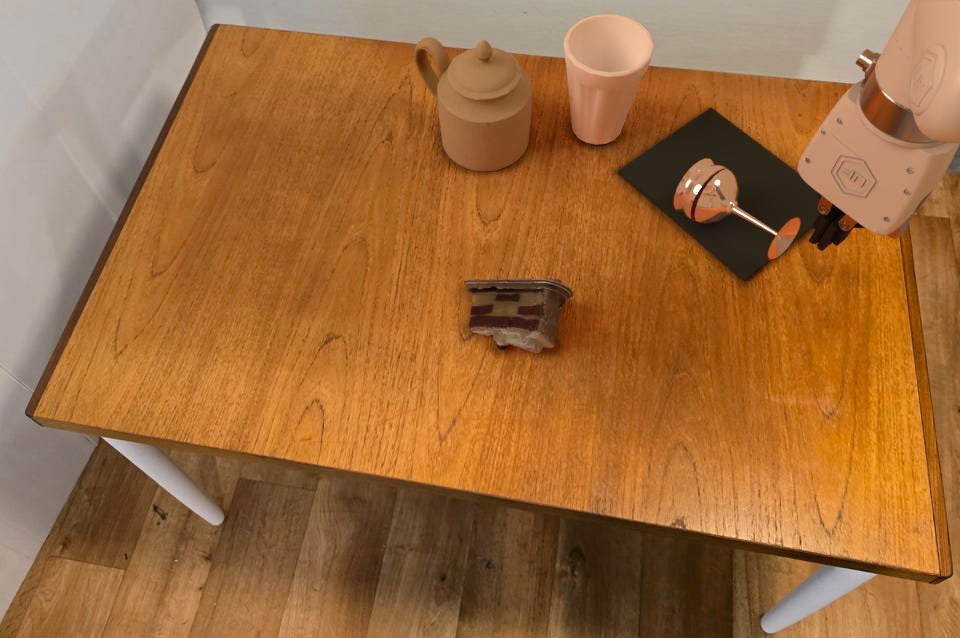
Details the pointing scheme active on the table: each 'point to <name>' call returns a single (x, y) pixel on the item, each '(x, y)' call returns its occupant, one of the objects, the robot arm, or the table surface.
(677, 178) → the mat
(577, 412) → the table surface
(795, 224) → the wineglass
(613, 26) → the cup
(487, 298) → the checkered cake slice
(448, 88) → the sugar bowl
